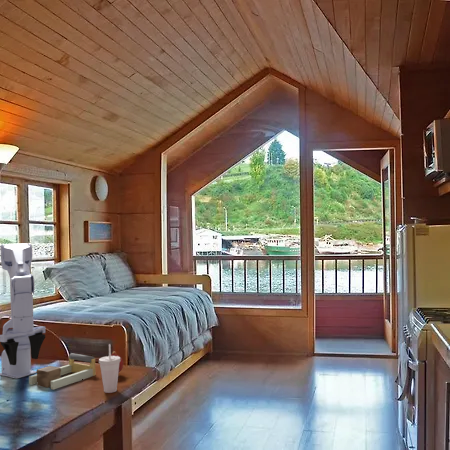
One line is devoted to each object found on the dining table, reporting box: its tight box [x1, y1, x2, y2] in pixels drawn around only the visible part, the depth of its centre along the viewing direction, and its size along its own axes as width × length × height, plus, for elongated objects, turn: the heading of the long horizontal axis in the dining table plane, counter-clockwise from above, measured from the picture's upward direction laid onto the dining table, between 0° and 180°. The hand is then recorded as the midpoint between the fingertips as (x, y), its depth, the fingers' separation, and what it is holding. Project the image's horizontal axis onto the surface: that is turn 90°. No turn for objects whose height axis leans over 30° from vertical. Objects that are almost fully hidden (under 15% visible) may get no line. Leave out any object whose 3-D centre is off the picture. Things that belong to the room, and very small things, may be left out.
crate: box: [35, 365, 62, 388], centre depth 164 cm, size 5×5×5 cm
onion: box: [111, 350, 124, 374], centre depth 172 cm, size 6×6×8 cm
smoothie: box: [98, 343, 121, 394], centre depth 156 cm, size 6×6×14 cm
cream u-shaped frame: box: [28, 352, 97, 390], centre depth 169 cm, size 11×18×6 cm, turn 148°
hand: (24, 361), depth 156 cm, fingers open, 7 cm apart
